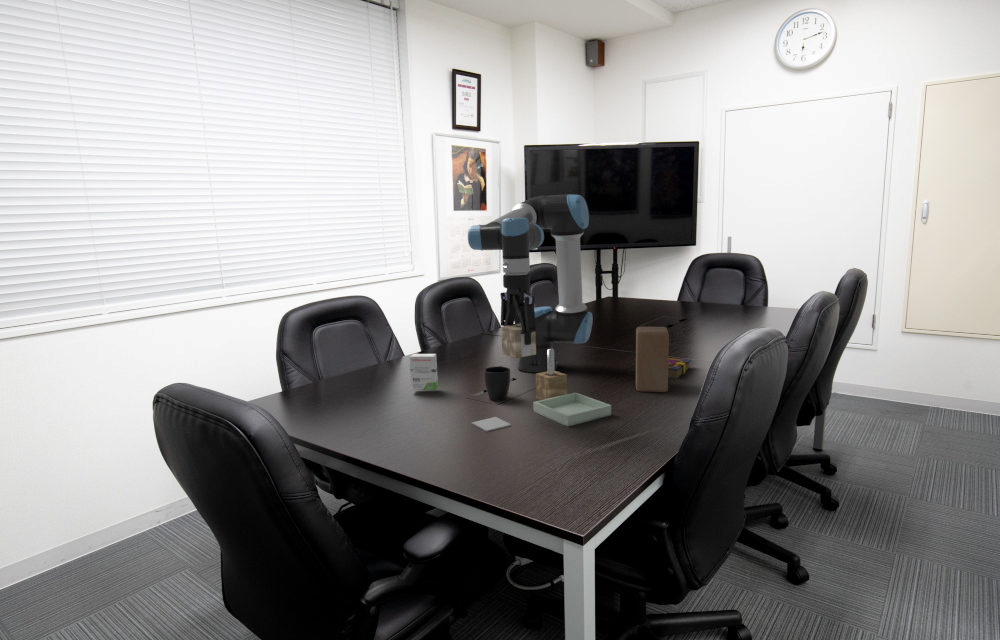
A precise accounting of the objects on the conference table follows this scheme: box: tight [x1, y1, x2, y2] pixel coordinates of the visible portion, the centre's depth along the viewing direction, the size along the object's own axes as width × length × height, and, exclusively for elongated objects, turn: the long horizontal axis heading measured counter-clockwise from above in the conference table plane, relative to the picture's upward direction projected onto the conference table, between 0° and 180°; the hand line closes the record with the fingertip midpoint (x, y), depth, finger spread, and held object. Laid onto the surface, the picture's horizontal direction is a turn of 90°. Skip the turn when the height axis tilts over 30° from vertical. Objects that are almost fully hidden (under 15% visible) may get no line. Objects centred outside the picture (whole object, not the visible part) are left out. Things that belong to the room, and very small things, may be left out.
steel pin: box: [547, 348, 556, 376], centre depth 187 cm, size 2×2×16 cm
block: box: [635, 326, 670, 393], centre depth 195 cm, size 10×10×20 cm
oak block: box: [535, 370, 568, 401], centre depth 188 cm, size 7×7×8 cm
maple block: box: [500, 323, 536, 359], centre depth 170 cm, size 7×7×8 cm
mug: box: [483, 365, 511, 402], centre depth 192 cm, size 8×12×10 cm
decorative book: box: [668, 357, 692, 380], centre depth 215 cm, size 11×16×5 cm
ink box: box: [409, 353, 439, 391], centre depth 204 cm, size 9×5×12 cm, turn 85°
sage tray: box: [532, 392, 612, 428], centre depth 174 cm, size 16×16×3 cm
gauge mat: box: [471, 416, 512, 433], centre depth 166 cm, size 8×8×1 cm
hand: (518, 353), depth 171 cm, fingers closed on maple block, 7 cm apart
